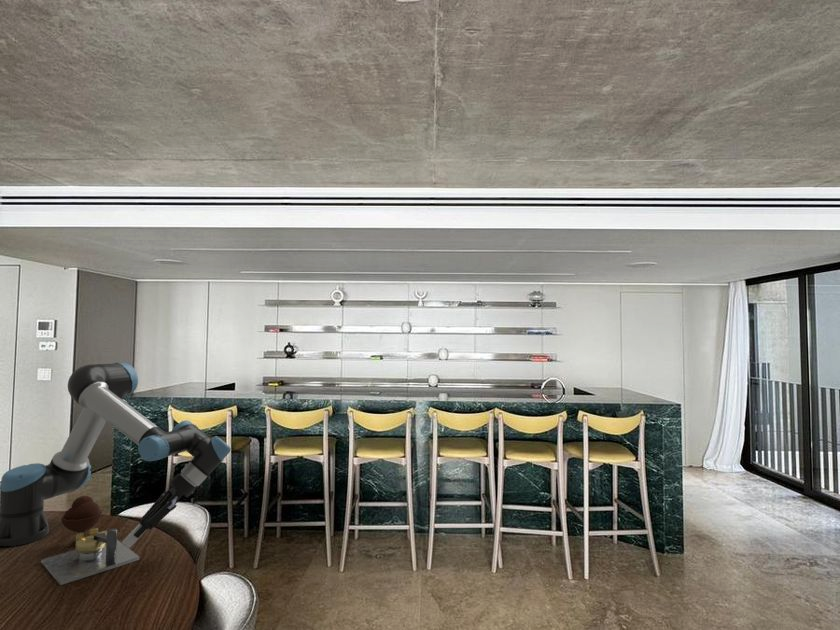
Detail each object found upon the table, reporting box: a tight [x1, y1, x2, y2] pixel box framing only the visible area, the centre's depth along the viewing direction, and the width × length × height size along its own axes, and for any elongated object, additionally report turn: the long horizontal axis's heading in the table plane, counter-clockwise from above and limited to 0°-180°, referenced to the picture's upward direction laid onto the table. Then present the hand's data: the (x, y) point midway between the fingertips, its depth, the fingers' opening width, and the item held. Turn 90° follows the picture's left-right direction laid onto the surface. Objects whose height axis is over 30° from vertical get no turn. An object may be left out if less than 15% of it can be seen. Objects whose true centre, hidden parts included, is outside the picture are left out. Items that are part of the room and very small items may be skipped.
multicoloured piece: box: [74, 527, 118, 566], centre depth 145 cm, size 15×8×10 cm, turn 65°
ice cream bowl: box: [61, 495, 103, 548], centre depth 159 cm, size 11×11×15 cm
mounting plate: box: [40, 539, 140, 586], centre depth 146 cm, size 20×20×4 cm
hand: (125, 544), depth 145 cm, fingers closed
